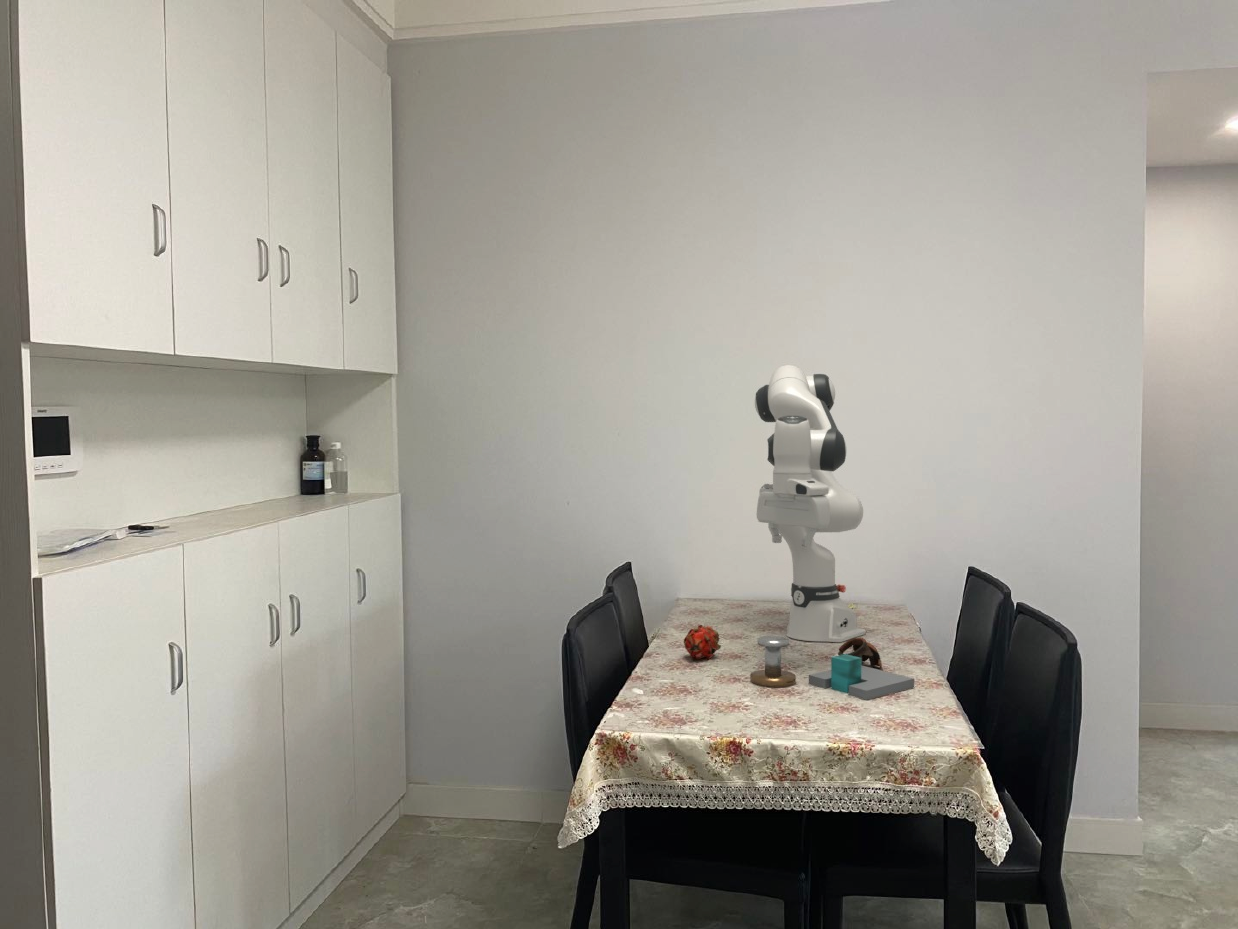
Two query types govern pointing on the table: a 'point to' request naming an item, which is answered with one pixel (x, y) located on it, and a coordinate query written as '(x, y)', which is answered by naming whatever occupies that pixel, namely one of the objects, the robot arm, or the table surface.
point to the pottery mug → (862, 651)
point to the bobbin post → (773, 665)
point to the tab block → (845, 672)
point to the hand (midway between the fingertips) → (791, 544)
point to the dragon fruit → (702, 642)
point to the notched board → (868, 683)
